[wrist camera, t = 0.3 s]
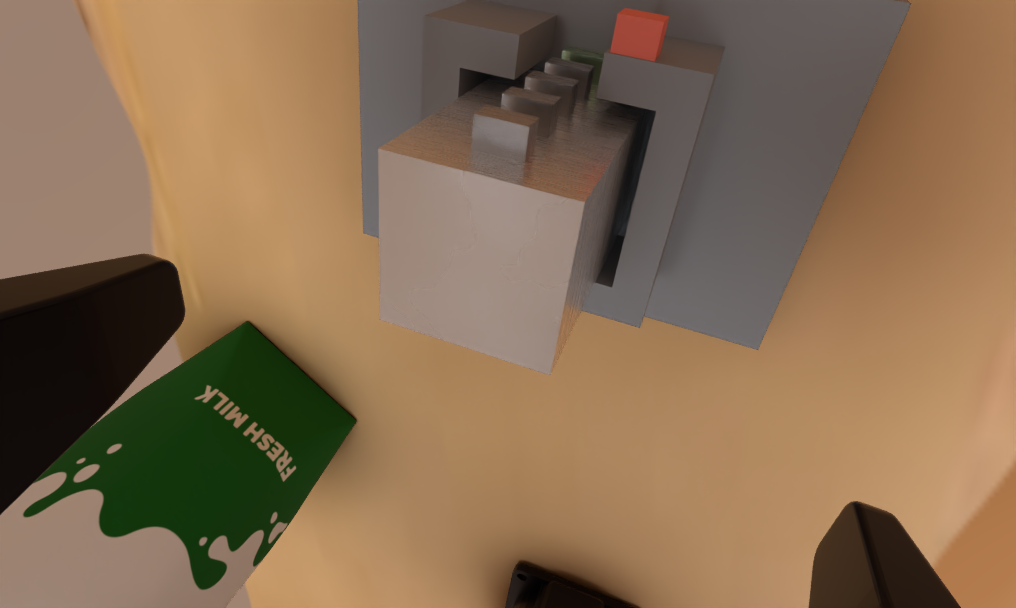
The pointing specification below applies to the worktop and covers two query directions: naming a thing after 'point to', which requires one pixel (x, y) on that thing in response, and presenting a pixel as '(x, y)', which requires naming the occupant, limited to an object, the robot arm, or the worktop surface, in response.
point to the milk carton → (174, 486)
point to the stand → (663, 127)
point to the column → (507, 210)
